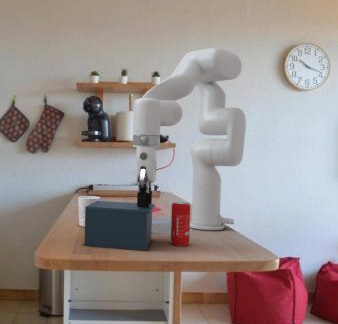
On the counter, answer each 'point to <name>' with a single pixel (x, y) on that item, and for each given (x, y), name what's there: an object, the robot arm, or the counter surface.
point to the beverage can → (180, 223)
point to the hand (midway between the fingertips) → (144, 205)
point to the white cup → (84, 202)
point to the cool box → (118, 229)
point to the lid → (119, 207)
